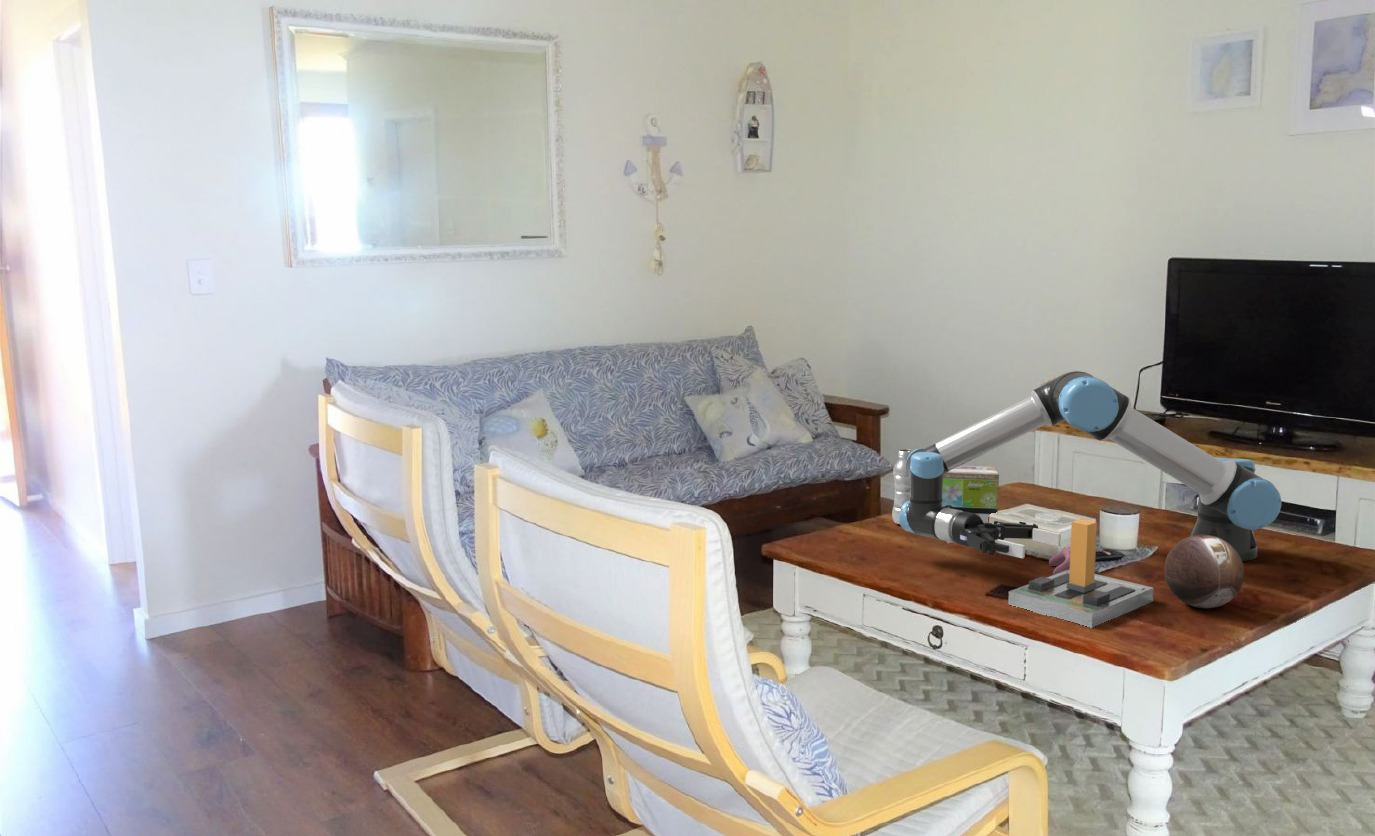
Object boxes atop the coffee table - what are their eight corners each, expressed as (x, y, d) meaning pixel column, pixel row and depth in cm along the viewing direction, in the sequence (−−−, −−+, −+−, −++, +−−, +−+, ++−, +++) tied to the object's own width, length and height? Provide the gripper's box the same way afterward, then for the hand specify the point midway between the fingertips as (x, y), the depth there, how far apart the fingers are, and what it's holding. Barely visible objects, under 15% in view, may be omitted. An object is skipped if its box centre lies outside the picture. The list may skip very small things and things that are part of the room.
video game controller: (1070, 585, 256) (1086, 558, 254) (1051, 575, 257) (1067, 549, 255) (1064, 572, 266) (1079, 546, 264) (1046, 563, 266) (1061, 537, 265)
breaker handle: (1079, 583, 241) (1081, 518, 239) (1096, 587, 238) (1099, 521, 236) (1066, 588, 238) (1069, 522, 236) (1083, 592, 235) (1086, 525, 233)
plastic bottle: (889, 526, 303) (890, 452, 300) (894, 520, 309) (895, 447, 306) (913, 528, 301) (915, 453, 297) (918, 521, 307) (920, 448, 304)
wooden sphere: (1204, 622, 226) (1208, 549, 224) (1146, 600, 240) (1150, 531, 238) (1258, 611, 232) (1263, 540, 230) (1199, 591, 246) (1203, 523, 243)
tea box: (939, 526, 302) (940, 471, 300) (937, 516, 312) (938, 463, 310) (997, 527, 300) (999, 472, 298) (993, 518, 310) (995, 464, 307)
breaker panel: (1071, 581, 254) (1072, 561, 253) (1152, 601, 239) (1154, 580, 239) (1008, 605, 238) (1009, 584, 238) (1091, 628, 224) (1092, 605, 223)
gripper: (991, 533, 269) (1073, 551, 253) (925, 553, 253) (1007, 574, 237) (992, 502, 268) (1074, 518, 252) (925, 520, 252) (1008, 539, 236)
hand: (1042, 545), depth 244 cm, fingers open, 13 cm apart
